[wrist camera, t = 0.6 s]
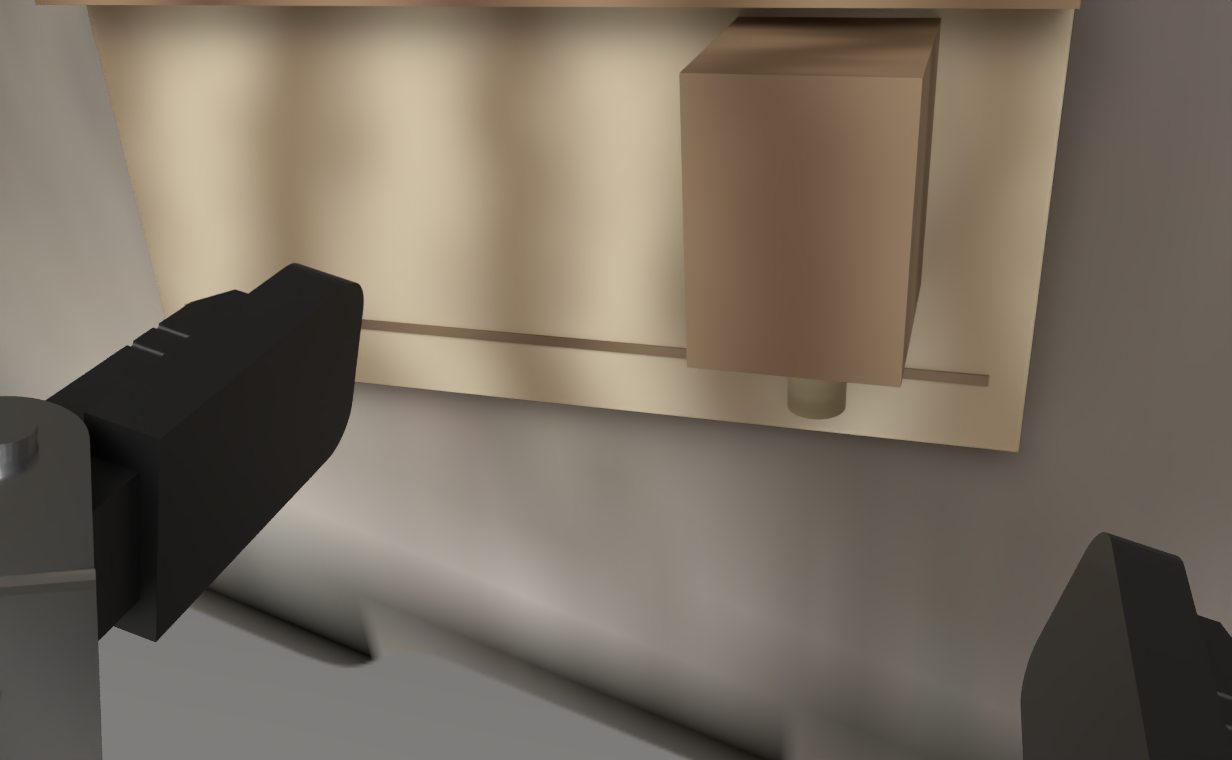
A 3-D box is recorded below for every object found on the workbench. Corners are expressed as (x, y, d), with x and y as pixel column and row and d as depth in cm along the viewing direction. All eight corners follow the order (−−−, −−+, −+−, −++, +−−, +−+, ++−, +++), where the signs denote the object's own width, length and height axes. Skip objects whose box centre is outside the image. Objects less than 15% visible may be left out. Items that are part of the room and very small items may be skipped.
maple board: (1081, -88, 28) (1088, -64, 25) (1018, 417, 35) (1017, 490, 31) (113, -70, 36) (20, -51, 33) (210, 338, 43) (140, 389, 39)
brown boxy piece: (941, 18, 28) (922, 77, 23) (913, 388, 33) (892, 505, 28) (737, 16, 30) (679, 73, 25) (739, 372, 35) (689, 480, 30)
